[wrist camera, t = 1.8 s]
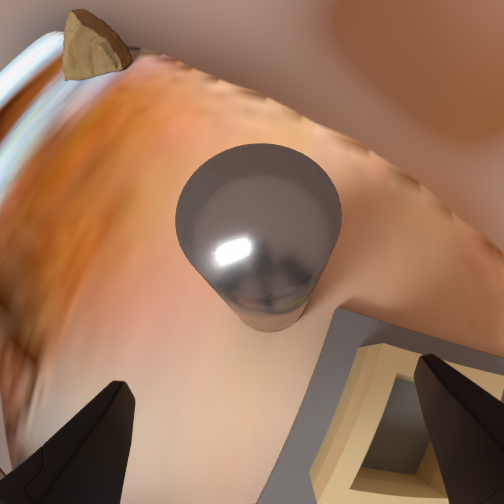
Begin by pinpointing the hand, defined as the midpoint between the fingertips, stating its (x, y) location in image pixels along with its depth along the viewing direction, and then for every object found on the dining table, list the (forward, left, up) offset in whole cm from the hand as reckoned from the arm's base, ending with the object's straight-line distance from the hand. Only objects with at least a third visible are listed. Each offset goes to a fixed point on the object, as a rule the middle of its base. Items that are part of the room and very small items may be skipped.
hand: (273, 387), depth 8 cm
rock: (+25, +33, -12) cm, 43 cm away
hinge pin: (+5, +2, -12) cm, 13 cm away
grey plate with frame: (-4, -12, -12) cm, 17 cm away
